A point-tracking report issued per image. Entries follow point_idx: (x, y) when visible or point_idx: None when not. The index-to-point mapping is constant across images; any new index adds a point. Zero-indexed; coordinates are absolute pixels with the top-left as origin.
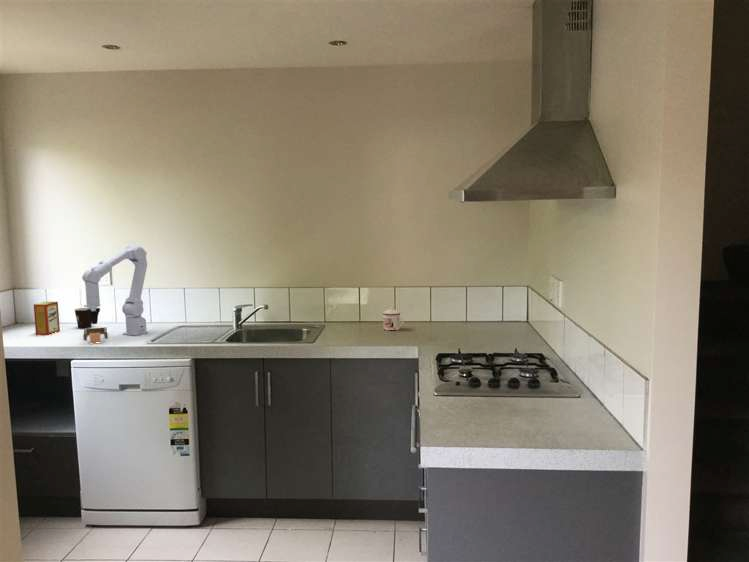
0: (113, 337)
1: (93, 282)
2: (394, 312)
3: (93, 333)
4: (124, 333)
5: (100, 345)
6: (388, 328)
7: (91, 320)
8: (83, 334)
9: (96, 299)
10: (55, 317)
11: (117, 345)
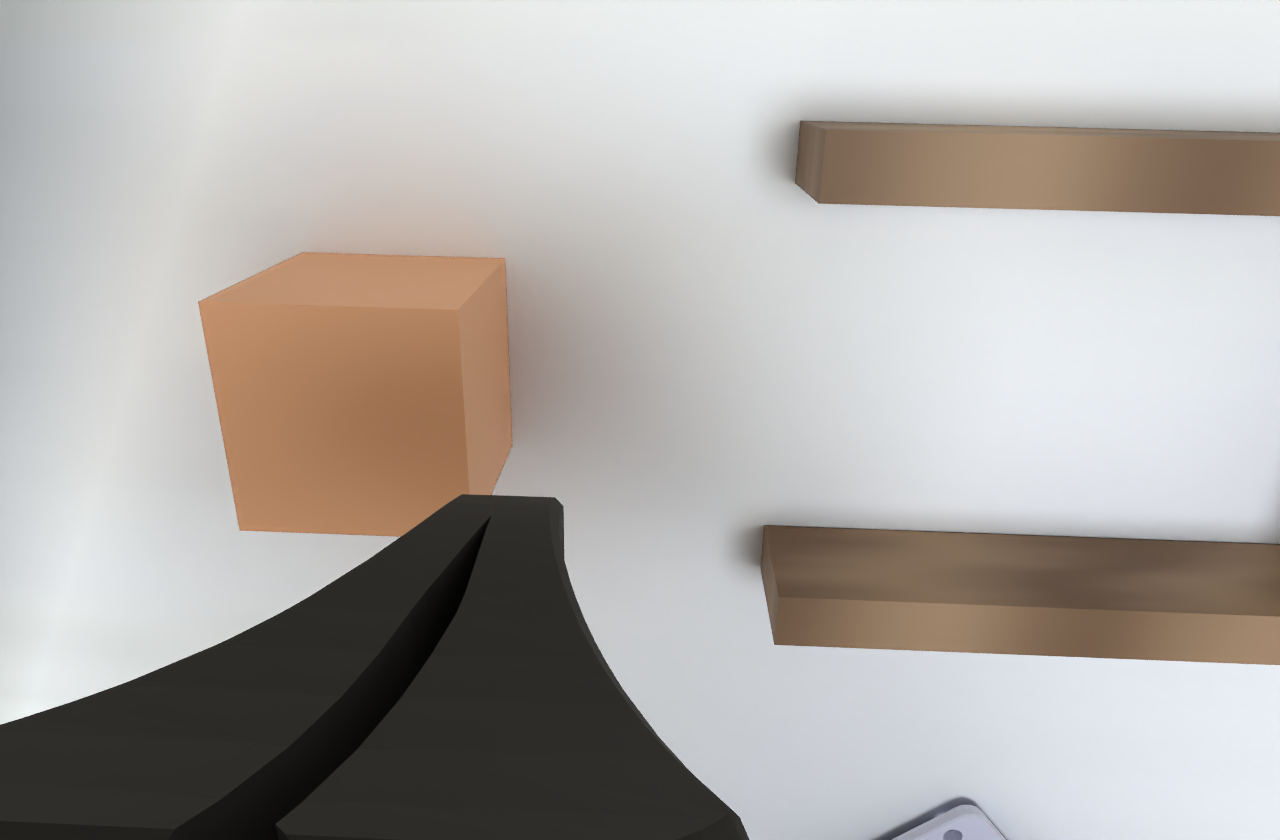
0: (774, 659)
1: None
2: None
3: (395, 396)
4: (927, 836)
5: (102, 428)
6: None
7: (387, 555)
8: (826, 129)
9: None
10: None
11: (32, 668)
